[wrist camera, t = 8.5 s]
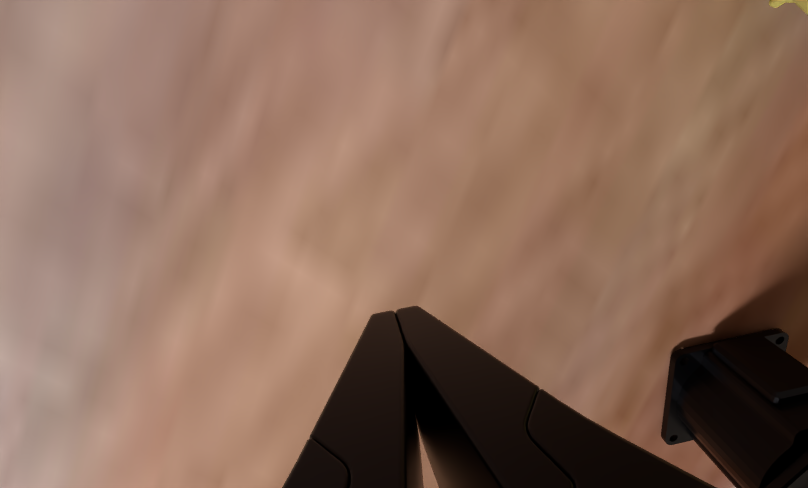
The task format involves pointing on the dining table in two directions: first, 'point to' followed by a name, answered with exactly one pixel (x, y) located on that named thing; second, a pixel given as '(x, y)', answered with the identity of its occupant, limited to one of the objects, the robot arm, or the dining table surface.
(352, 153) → the dining table surface
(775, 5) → the plastic component
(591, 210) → the dining table surface
